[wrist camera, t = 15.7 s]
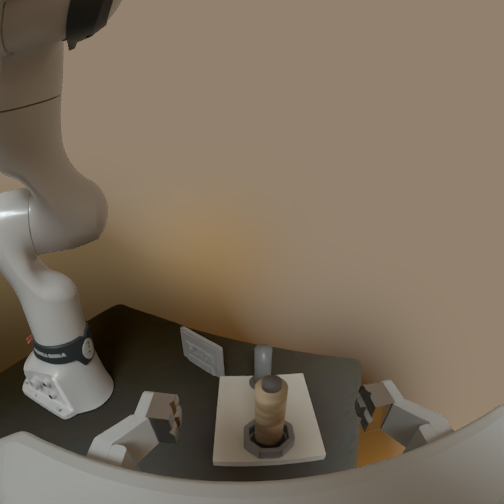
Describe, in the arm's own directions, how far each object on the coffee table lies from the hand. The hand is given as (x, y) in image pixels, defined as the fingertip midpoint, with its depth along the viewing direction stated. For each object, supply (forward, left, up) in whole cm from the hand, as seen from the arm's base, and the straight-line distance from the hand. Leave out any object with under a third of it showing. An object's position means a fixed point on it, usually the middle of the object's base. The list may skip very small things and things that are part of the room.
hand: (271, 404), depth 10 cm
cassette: (-10, +37, -28) cm, 48 cm away
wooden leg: (+2, +16, -26) cm, 31 cm away
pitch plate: (+2, +22, -28) cm, 36 cm away
